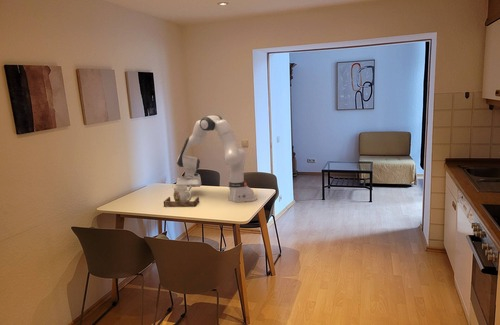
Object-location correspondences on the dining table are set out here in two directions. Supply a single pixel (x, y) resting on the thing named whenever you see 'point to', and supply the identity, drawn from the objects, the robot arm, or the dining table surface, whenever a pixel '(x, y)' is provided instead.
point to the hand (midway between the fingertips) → (187, 190)
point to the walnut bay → (180, 203)
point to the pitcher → (181, 193)
